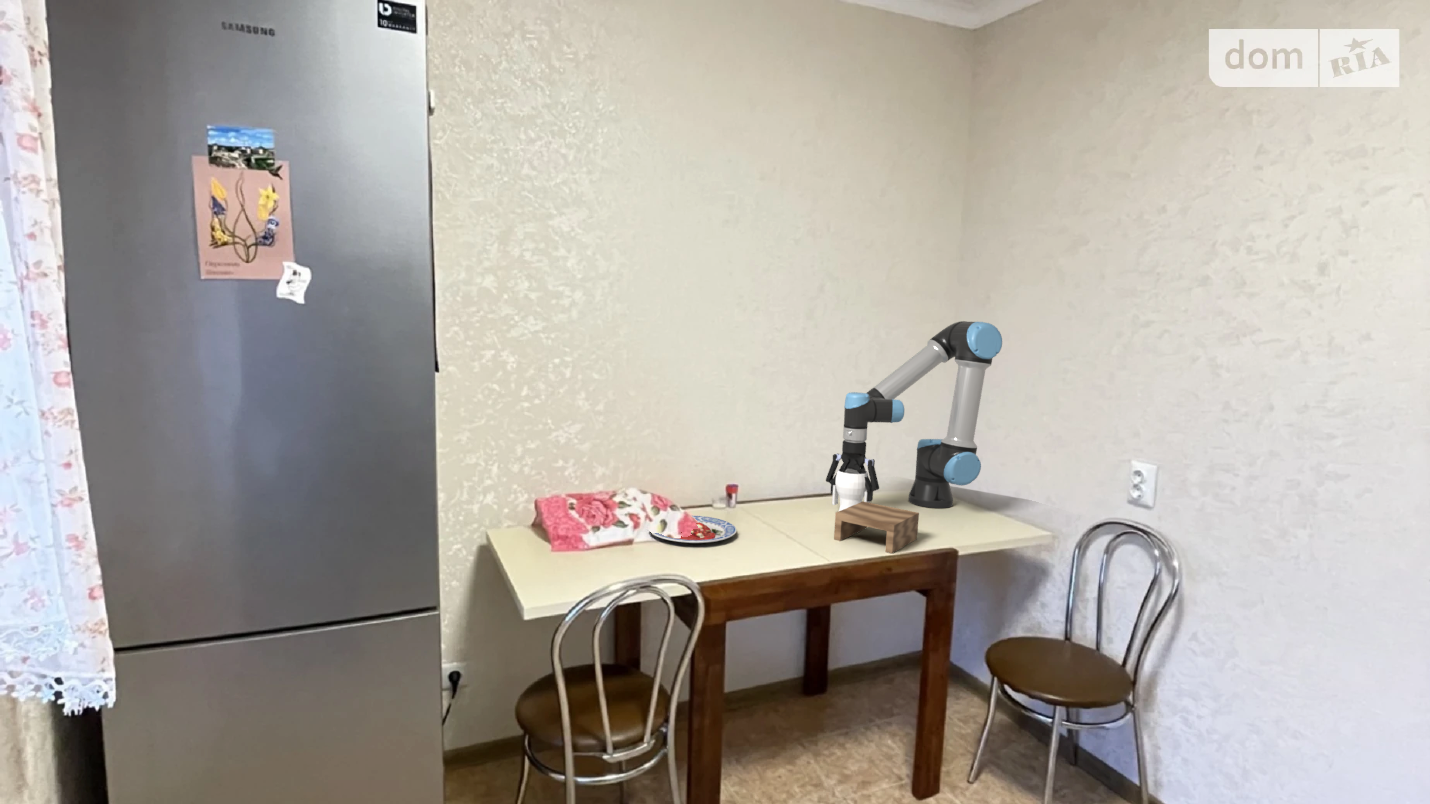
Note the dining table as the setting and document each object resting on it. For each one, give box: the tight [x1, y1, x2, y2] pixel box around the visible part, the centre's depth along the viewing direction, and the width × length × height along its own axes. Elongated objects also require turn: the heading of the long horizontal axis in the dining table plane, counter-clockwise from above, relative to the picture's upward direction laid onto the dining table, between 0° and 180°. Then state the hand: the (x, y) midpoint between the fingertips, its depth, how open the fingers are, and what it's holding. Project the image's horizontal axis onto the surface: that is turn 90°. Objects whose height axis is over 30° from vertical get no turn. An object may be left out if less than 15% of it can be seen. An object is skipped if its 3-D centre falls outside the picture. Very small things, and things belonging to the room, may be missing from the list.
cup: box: [835, 468, 869, 512], centre depth 236 cm, size 11×11×15 cm
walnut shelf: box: [833, 501, 920, 554], centre depth 213 cm, size 18×18×8 cm
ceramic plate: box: [651, 515, 737, 544], centre depth 211 cm, size 26×26×3 cm
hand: (850, 507), depth 236 cm, fingers closed on cup, 11 cm apart
